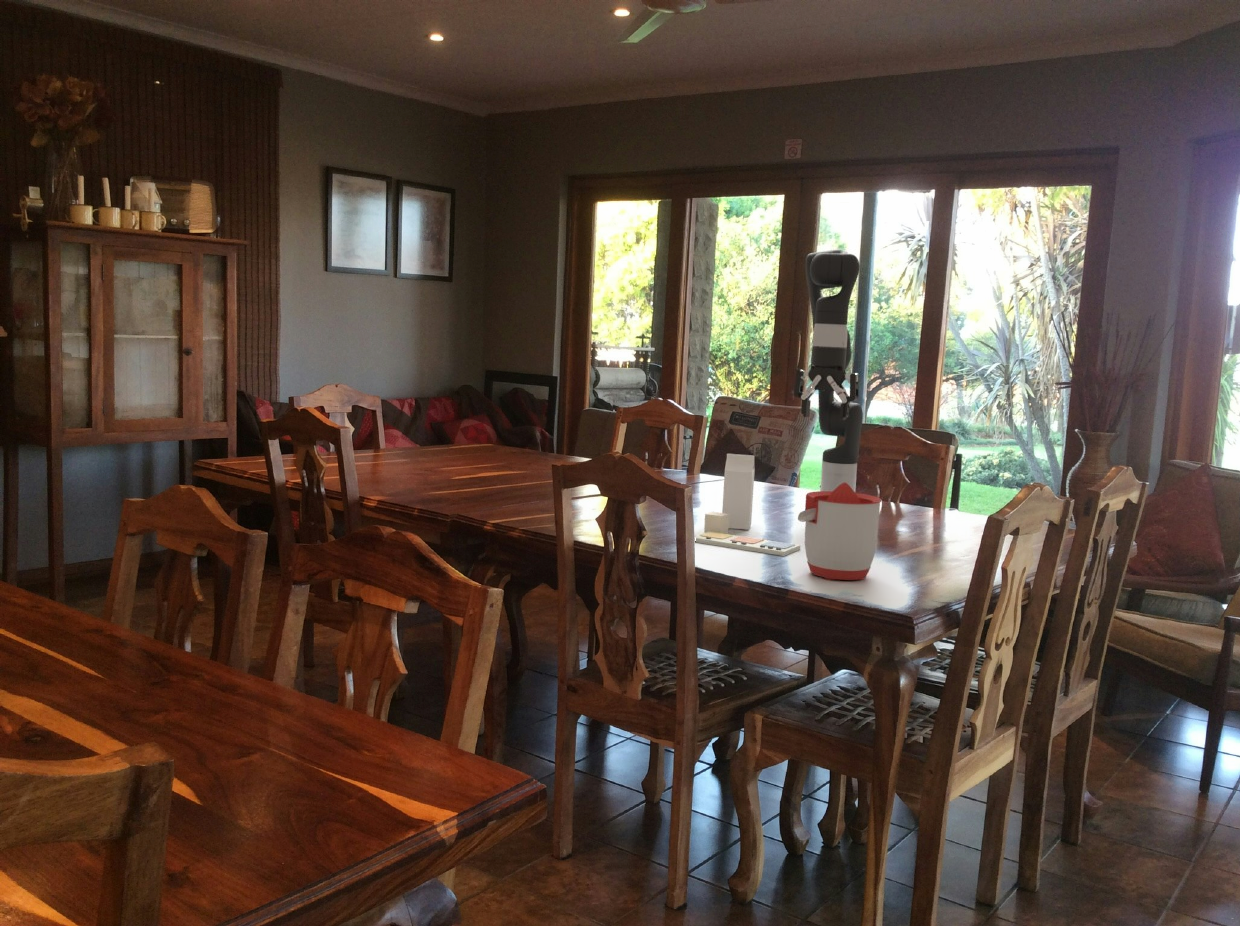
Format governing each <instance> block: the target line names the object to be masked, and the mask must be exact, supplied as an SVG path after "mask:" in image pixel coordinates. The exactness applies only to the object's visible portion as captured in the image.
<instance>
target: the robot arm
mask: <svg viewBox="0 0 1240 926" xmlns="http://www.w3.org/2000/svg"><path fill="white" fill-rule="evenodd" d="M804 268H805V275H806V276H805V278H806V283H807V289H808V296H809V302H810V303H809V304H810V310H811V317H812V318H811V319H812V321H811V322H812V340H811V356H810V359H811V360H810V369H809V371H808V370H804V369H798V370H796V373H795V380H794V387H793V388H794V389H793V396H794V397H797V398H799V399H800V400H801V409H800V413H801V415H802V416H803V418H809V417H810V415H811V397H812V396H813V395H814V394H815V393H816V392H817V393H818V394H817V395H818V424H819V428H820V431H821V433H822V434H823V435H826V436H831V437H832V436H833V437H843V438H844V440H843V442H842V444H840V445H838V446H835V447H832V448H827V449H824V451H823V453H822V460H821V461H822V462H821V474H820V476H821V477H820V489H819V491H834V490H835V489H836V488H837V487H838V486H839V485H840V484H842V483H844V482H845V483H847V484H848V485H849V486H850V487H851V488H852V489H853V491H854V492H855V493H856V488H857V486H856V485H857V484H856V483H857V472H858V459H859V453H860V443H861V434H862V426H863V419H864V418H863V417H864V416H863V413H864V412H863V408H862V406H861V404H860V403H857V402H855V401H858V400H859V398H860V396H859V395H860V374H859V373H858V372H855V373H854V372H852V373H847V372H846V370H847V368H848V366H849V365H850V362H851V359H852V346H851V345H852V344H851V335H850V332H849V330H848V318H849V307H850V301H851V297H852V295H853V291H854V287H855V285H856V282H857V280H858V278H859V274H860V270H861V269H860V268H861V265H860V261H859V259H858V258H857V256H856V255H855V254H852V253H849V252H848V251H846V250H845V249H833V250H832V249H831V250H823V251H816V252H811V253H808V254H807V255H806V257H805V267H804ZM835 288H841V289H840V291H839V292H838V293H837V294H833V295H829V296H824V295H823V293H822V290H826V289H835ZM807 378H809V379H810V381H811V383H809V385H808V386H807V388H806V389H805V391H804V386H805V381H806V380H807ZM846 379H847V382H848V384H849V394H848V393H847V390H846V388H845V386H844V385H843V384H844V383H845V380H846ZM834 394H836V395H837V396H838V398H839V399H840V401H837V400H835V397H834Z"/></svg>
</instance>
